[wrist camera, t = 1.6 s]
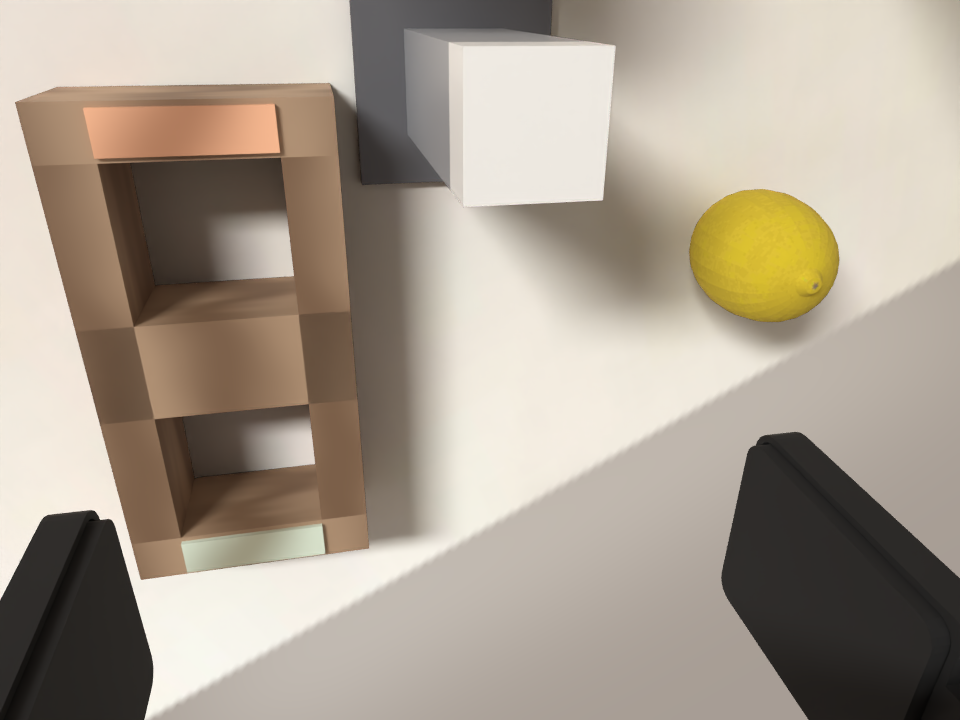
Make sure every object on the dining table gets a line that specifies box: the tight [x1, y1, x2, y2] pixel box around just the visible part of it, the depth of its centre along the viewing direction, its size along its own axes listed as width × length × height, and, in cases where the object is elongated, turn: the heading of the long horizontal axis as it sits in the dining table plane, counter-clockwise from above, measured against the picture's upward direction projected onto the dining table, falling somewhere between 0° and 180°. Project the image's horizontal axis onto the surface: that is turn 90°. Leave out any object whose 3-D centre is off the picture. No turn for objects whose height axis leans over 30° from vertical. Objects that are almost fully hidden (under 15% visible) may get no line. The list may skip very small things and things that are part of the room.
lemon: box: [689, 189, 839, 322], centre depth 32 cm, size 6×6×8 cm
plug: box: [404, 29, 616, 207], centre depth 24 cm, size 4×4×12 cm
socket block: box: [15, 83, 369, 580], centre depth 30 cm, size 10×20×5 cm, turn 0°
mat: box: [350, 0, 552, 185], centre depth 30 cm, size 8×8×1 cm
